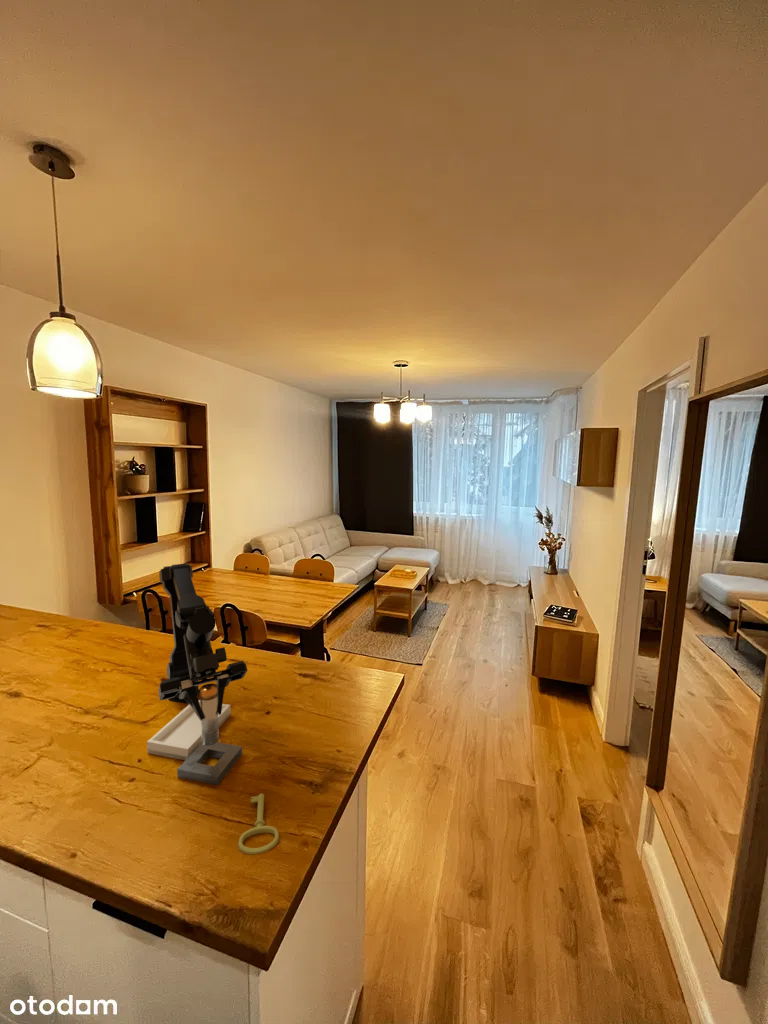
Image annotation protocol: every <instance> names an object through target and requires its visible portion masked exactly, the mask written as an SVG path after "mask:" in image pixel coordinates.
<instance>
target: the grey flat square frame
mask: <svg viewBox="0 0 768 1024" xmlns="http://www.w3.org/2000/svg"><path fill="white" fill-rule="evenodd" d="M242 755H243V746H241V745H235V744H232V743H226V742H219V741H218V742H216V743H215V744H213V745H210V746H205V745H203V744H202V743H201V744H200V746H199V747H198V748H197V749H196V750H195V751H194V752H193V753H192V754H191V755H190V756H189V757H188V758H187V759H186V760H184V761H183V762H182V764H181V765H179V767H178V768H177V770H176V771H177V778H178V779H179V778H180V779H183V780H188V781H194V782H199V783H203V784H209V785H215V786H219V785H220V784H221V783H222V781H223V779H225V777H226V776H227V775H228V773H229V772H230V771H231V770H232V768H233V767H234V765H235V764H237V762H238V760H239V759H240V758H241V756H242ZM208 758H213V759H219V760H217V762H216V763H215V765H209V764H204V763H205V761H206V760H207V759H208Z"/></svg>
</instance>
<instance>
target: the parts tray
mask: <svg viewBox="0 0 768 1024" xmlns="http://www.w3.org/2000/svg"><path fill="white" fill-rule="evenodd" d="M198 701H199V704H200V699H198ZM231 707H232V706H231V704H228V703H227V704H226V703H222V711H221V714H220V715H219V714H218V729H220V727H221V726H222V725H223V724H224V723H225V722H226V721H227V720H228V719H229V717H231V714H232V712H231V709H232V708H231ZM200 708H201V704H200ZM201 743H202V732H201V721H200V719H199V718H198V716H197V715H196V713H195V712H194V710H193V709H192V707H191V706H190V705H189V704H188V705H187V706H186V707H184V708H183V709H182V710H181V711H180V712H179V713H177V715H176V716H174V717H173V718H172V719H170V721H169V722H168V723H166V724H165V725H164V726H163V727H162V728H161V729H159V730H158V731H157V732H156V733H155V734H154V735H152V737H150V739H148V740H147V741H146V746H147V748H146V749H147V754H151V755H156V756H160V757H161V756H162V757H167V758H172V759H178V760H182V761H185V760H186V759H187V758H188V757H189V756H190V755H191V754H192V753H193V752H194V751H195V750H196V749H197V748H198V747H199V746H200V744H201Z"/></svg>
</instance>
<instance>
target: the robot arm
mask: <svg viewBox="0 0 768 1024" xmlns="http://www.w3.org/2000/svg"><path fill="white" fill-rule="evenodd" d="M158 573H159V583H162V589H163V590H164V592H165V593H166V594H167V595H168V596H169V603H170V612H171V621H172V623H171V624H172V631H173V632H172V633H173V643H174V645H173V646H174V647H173V648H172V651H171V653H170V654H169V662H168V663H167V667H166V675H167V676H166V677H167V679H164V680H162V681H160V683H159V686H158V699H159V701H166V700H168V701H170V702H171V701H173V702H178V703H184V704H188V705H190V706H191V707H192V709H193V710H194V712H195V713H196V715H197V716H198V718H199V719H200V721H201V720H202V719H203V717H202V711H201V708H200V704H199V701H198V700H199V698H198V695H200V688H199V686H200V685H206V684H210V683H212V682H216V683H215V684H216V685H217V696H218V714H219V715H220V714H221V711H222V704H224V703H223V701H224V694H225V691H226V690H225V689H226V687H228V686H229V684H230V682H234V681H238V680H241V679H244V677H245V676H246V673H248V666H247V664H246V662H245V661H244V660H240V661H235V662H232V663H229V664H228V665H227V667H226V668H225V669H222V670H219V667H220V663H223V662H226V661H227V660H228V656H227V652H226V649H225V648H226V647H225V646H224V647H219V648H215V653H214V652H213V651H214V650H213V648H212V642H211V638H212V636H213V633H214V631H215V628H216V623H217V619H216V616H215V613H214V611H212V609H210V607H209V605H207V604H206V602H205V599H204V597H202V596H200V595H197V592H196V588H195V585H194V583H193V578H194V573H193V565H192V564H189V563H186V562H185V563H184V562H183V563H177V564H172V565H168V566H167V565H166V566H163V568H161V569H160V570H159V572H158ZM218 670H219V671H218Z"/></svg>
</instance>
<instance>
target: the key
mask: <svg viewBox="0 0 768 1024" xmlns="http://www.w3.org/2000/svg"><path fill="white" fill-rule="evenodd" d="M264 802H265V794H264V793H259V794H258V795H256V796H251V797H250V804H255V803H257V809H256V811H257V812H256V820H255V822H254V825H253V826H254V827H252V828H250V829H247V830H245V832H243V833H242V834H241V835H240V837H239V839H238V843H237V847H238V850H239V851H240V852H241V851H242V852H241V853H244V854H245V853H246V855H259V854H262V853H266V852H268V851H270V850H272V849H273V848H274V847H275V846H276V845H277V844H278V843H279V841H280V840H279V839H280V834H279V831H278V829H277V828H276V827H274V826H271V825H265V824H266V821H265V820H264V811H265V809H264V805H265V803H264ZM265 833H267V834H270V835H271V834H272V835H274V838H273V839H272V841H270V842H269V843H268V844H266V845H263V846H260V847H248V846H245V845H244V844H243V843H244V842H245V840H246V839H247V838H249V837H252V836H253V835H258V834H265Z"/></svg>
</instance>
